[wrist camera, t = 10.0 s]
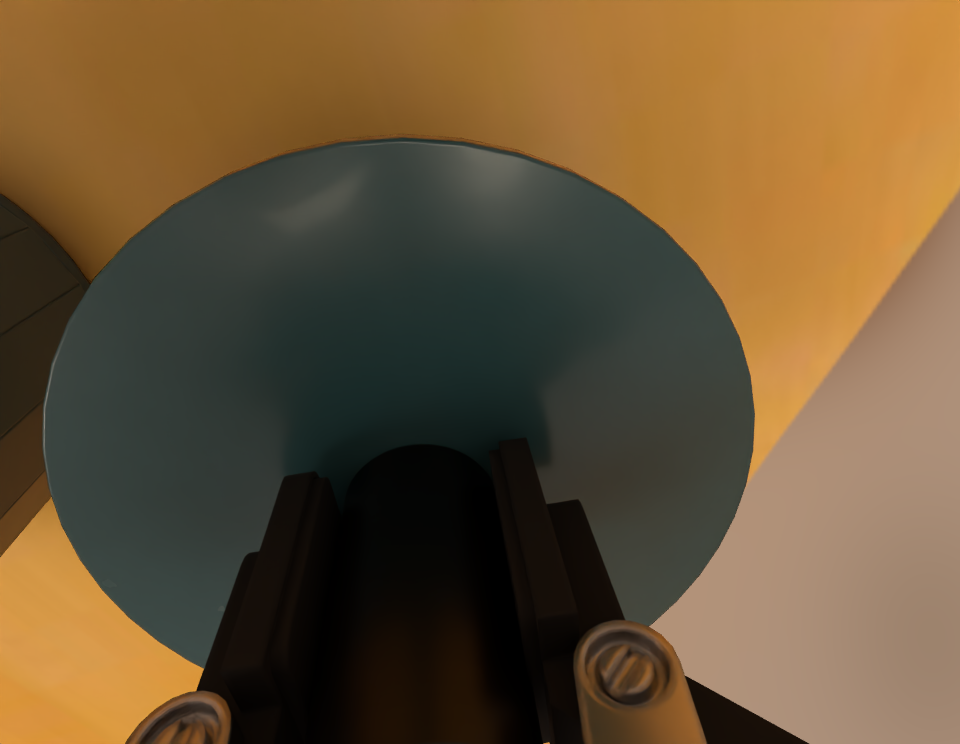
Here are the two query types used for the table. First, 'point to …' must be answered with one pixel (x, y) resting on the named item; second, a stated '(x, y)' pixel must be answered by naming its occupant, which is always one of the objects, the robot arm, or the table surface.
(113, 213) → the table surface
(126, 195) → the table surface
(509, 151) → the tin lid
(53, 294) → the tin
